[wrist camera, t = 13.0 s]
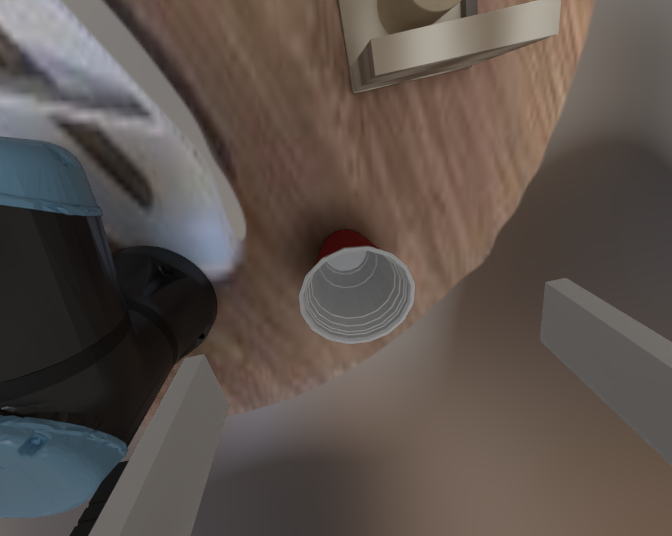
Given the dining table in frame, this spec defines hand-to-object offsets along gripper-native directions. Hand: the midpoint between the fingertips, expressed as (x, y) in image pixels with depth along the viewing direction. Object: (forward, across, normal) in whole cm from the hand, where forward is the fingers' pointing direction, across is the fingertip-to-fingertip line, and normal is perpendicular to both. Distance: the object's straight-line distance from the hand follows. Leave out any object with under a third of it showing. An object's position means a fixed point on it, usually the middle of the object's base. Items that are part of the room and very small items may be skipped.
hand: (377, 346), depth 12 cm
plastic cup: (+27, 0, -7) cm, 28 cm away
